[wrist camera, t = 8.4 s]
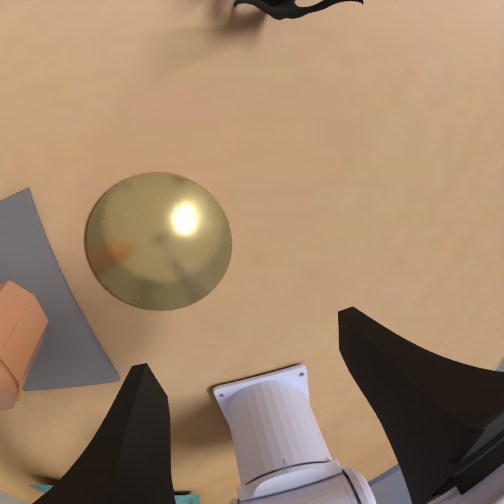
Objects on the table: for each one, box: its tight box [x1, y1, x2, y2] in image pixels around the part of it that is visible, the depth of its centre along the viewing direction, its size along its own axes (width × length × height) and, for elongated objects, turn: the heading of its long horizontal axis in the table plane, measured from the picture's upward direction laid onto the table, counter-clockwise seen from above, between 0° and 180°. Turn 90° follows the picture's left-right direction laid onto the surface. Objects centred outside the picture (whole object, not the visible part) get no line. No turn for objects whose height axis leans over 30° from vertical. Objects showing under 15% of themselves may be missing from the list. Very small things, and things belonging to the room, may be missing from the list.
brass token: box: [86, 172, 232, 311], centre depth 18 cm, size 9×9×1 cm
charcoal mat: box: [0, 188, 120, 391], centre depth 18 cm, size 16×11×1 cm
